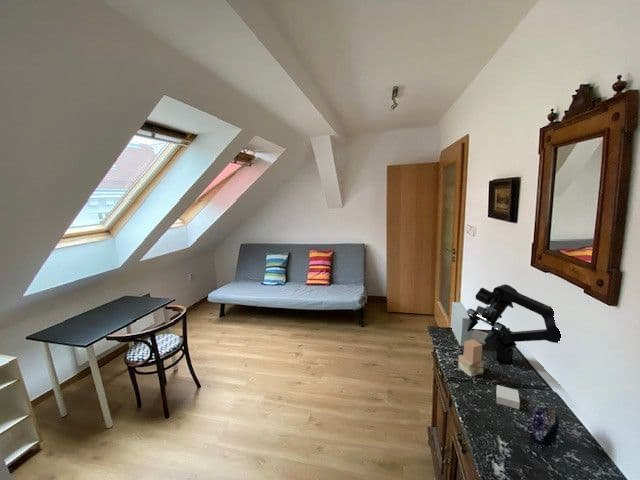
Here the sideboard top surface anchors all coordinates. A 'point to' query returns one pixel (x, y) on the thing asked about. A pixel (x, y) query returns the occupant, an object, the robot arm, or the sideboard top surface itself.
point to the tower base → (472, 372)
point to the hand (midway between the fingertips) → (476, 336)
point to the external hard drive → (479, 336)
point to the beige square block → (469, 364)
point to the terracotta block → (472, 351)
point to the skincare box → (460, 323)
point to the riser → (507, 397)
